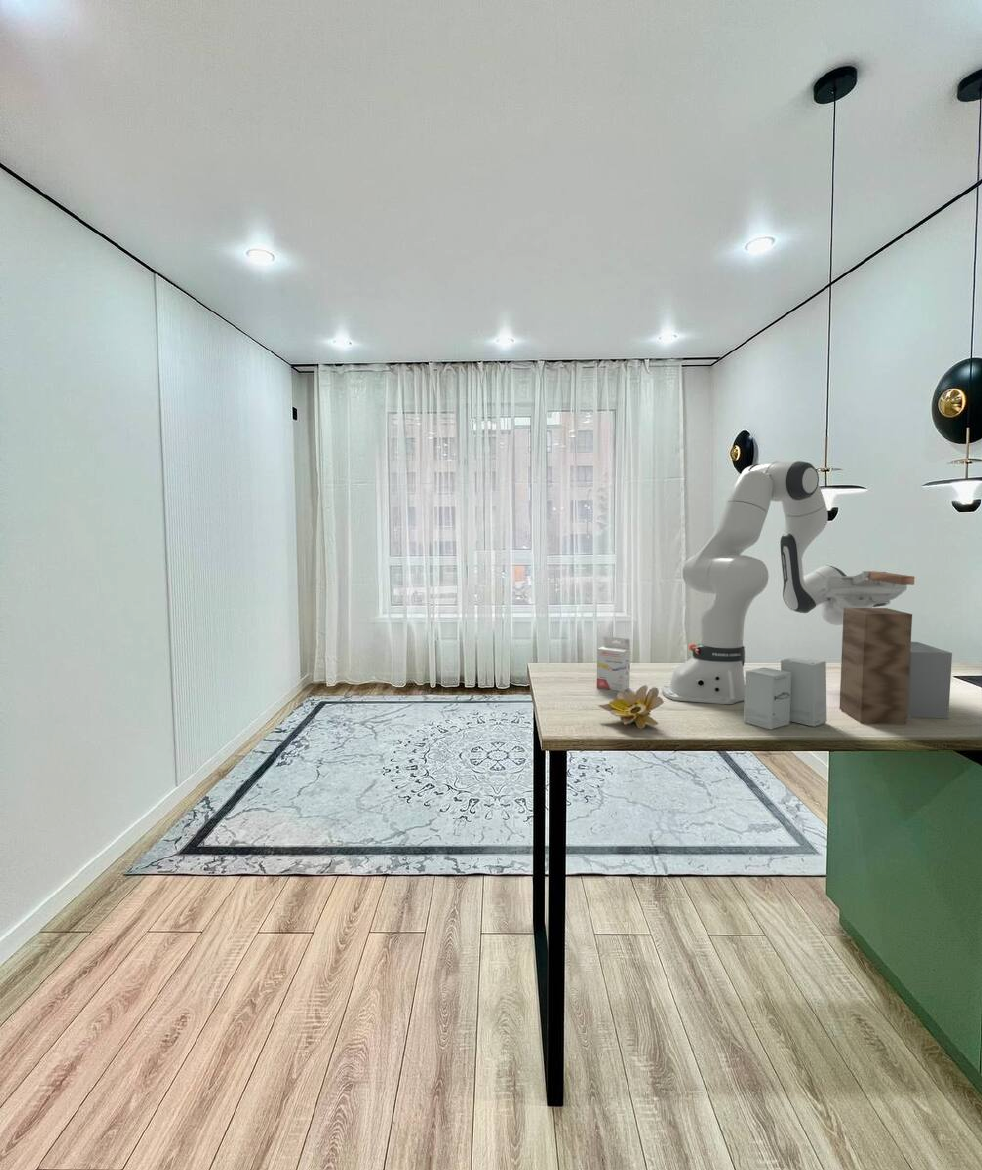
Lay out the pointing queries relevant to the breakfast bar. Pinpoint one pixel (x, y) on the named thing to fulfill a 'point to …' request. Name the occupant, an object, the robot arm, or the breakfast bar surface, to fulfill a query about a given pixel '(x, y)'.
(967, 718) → the breakfast bar surface
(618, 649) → the ink cartridge box
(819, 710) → the skincare box
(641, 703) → the decorative flower
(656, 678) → the breakfast bar surface
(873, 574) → the slat
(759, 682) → the supplement box
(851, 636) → the walnut stand
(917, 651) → the grey block
